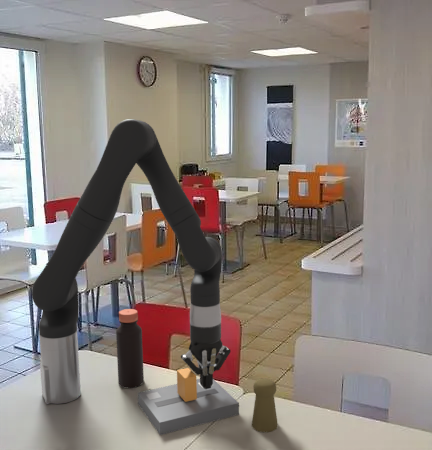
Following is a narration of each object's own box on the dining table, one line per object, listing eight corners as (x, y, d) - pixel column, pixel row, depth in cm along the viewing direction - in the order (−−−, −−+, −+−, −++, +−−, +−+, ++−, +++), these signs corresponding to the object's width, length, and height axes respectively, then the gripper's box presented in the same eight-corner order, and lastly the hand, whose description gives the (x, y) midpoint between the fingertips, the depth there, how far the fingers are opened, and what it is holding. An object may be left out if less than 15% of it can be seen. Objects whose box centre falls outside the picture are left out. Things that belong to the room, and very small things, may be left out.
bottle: (113, 384, 152) (109, 313, 149) (130, 375, 158) (127, 306, 154) (131, 391, 149) (128, 317, 145) (149, 381, 154) (146, 310, 150)
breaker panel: (160, 434, 127) (159, 422, 127) (137, 403, 142) (137, 392, 141) (238, 414, 136) (238, 402, 135) (210, 387, 150) (210, 376, 150)
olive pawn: (276, 433, 127) (276, 387, 126) (249, 431, 129) (249, 385, 127) (279, 419, 133) (279, 375, 131) (253, 417, 134) (253, 373, 133)
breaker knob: (185, 401, 135) (184, 378, 134) (177, 393, 140) (176, 370, 139) (196, 399, 137) (196, 375, 136) (188, 390, 141) (188, 367, 140)
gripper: (223, 311, 143) (223, 376, 146) (174, 320, 138) (175, 386, 141) (237, 320, 137) (237, 388, 140) (186, 330, 131) (187, 399, 134)
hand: (206, 387), depth 140 cm, fingers closed
